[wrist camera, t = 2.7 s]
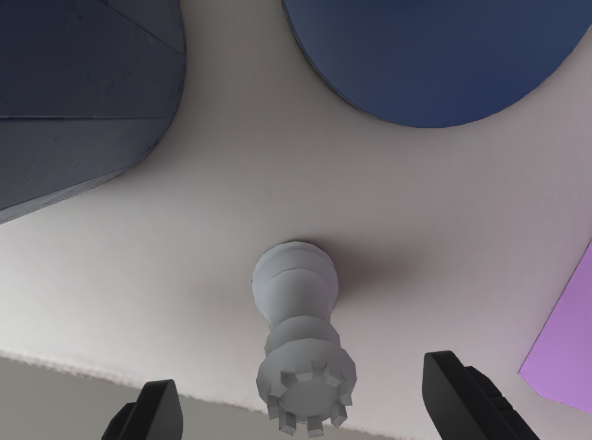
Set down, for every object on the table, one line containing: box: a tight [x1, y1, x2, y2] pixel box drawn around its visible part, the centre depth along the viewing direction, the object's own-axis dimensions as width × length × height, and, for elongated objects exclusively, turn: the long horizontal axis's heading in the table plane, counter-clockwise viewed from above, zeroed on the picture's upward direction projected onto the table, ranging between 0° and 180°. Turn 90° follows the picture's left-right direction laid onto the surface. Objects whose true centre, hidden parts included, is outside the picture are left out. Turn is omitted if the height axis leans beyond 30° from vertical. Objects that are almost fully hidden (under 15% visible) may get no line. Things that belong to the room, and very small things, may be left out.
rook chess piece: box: [252, 241, 357, 438], centre depth 13 cm, size 4×4×8 cm
